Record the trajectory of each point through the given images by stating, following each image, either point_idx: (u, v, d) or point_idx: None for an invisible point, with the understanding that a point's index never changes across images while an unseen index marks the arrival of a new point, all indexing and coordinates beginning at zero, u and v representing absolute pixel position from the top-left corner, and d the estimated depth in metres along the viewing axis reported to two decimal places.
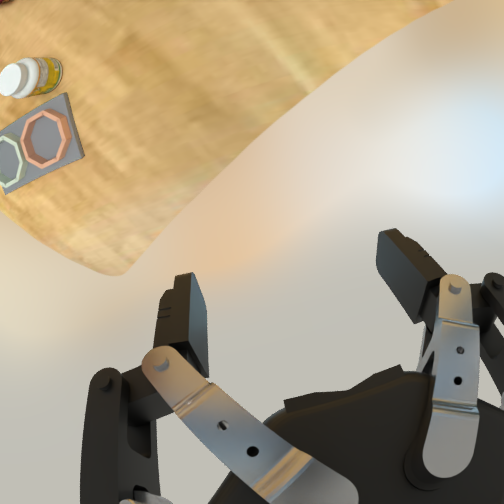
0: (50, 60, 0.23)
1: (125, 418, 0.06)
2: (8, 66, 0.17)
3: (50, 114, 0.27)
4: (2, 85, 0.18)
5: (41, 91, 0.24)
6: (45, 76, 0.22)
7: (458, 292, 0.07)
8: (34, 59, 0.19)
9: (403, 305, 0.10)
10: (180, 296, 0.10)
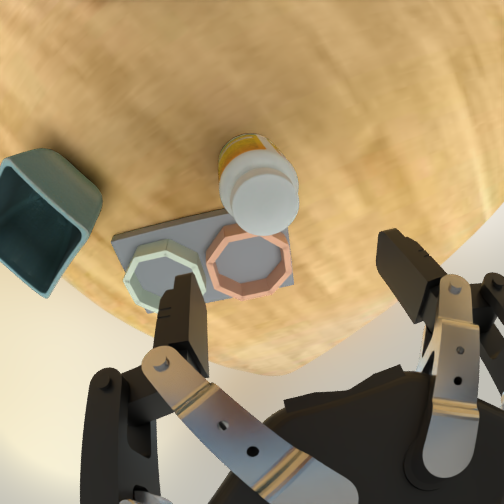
0: (278, 149, 0.21)
1: (125, 418, 0.06)
2: (266, 178, 0.16)
3: (273, 237, 0.25)
4: (245, 212, 0.17)
5: None
6: None
7: (458, 292, 0.07)
8: None
9: (403, 305, 0.10)
10: (180, 296, 0.10)
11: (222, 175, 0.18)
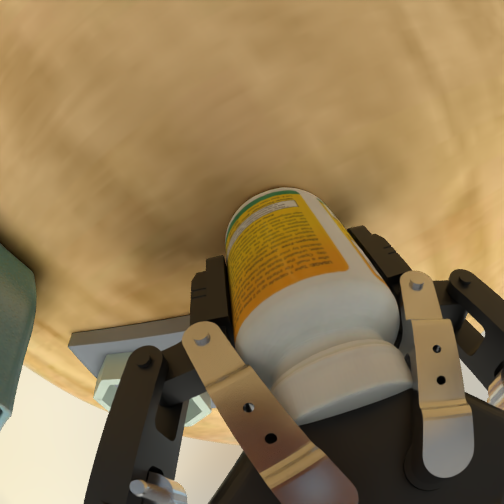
0: None
1: (157, 399, 0.07)
2: (369, 394, 0.05)
3: None
4: None
5: None
6: None
7: (418, 288, 0.08)
8: (386, 284, 0.08)
9: None
10: (214, 276, 0.10)
11: (243, 332, 0.08)
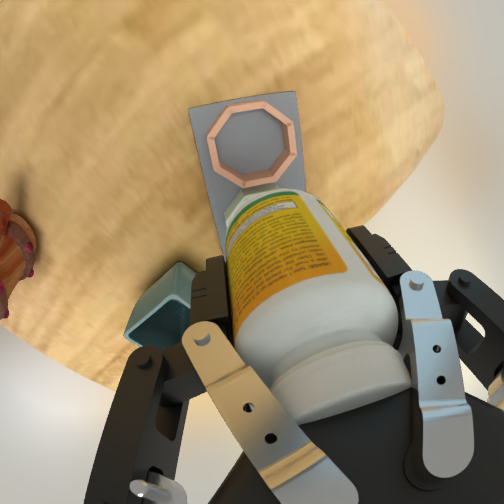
0: None
1: (157, 399, 0.07)
2: (367, 394, 0.05)
3: (217, 124, 0.23)
4: None
5: None
6: None
7: (418, 288, 0.08)
8: None
9: None
10: (214, 276, 0.10)
11: (243, 333, 0.08)
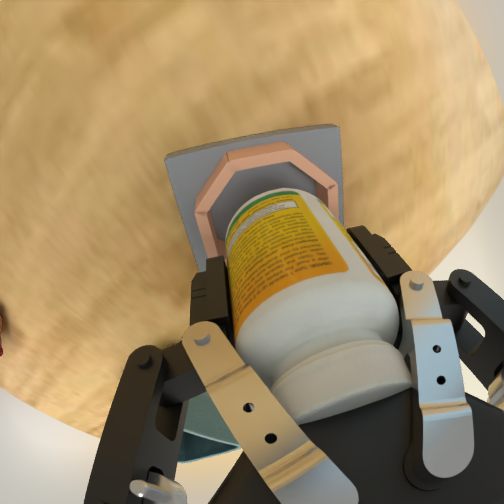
0: None
1: (158, 399, 0.07)
2: (368, 394, 0.05)
3: (210, 189, 0.14)
4: None
5: None
6: None
7: (418, 288, 0.08)
8: None
9: None
10: (214, 276, 0.10)
11: (244, 332, 0.08)
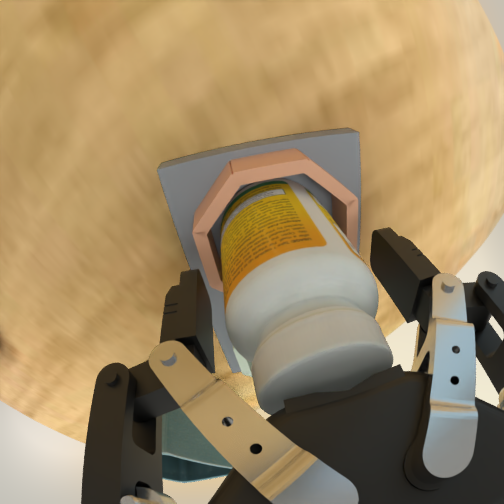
0: (329, 215, 0.12)
1: (131, 414, 0.06)
2: (342, 352, 0.06)
3: (211, 206, 0.12)
4: None
5: None
6: None
7: (451, 291, 0.07)
8: (363, 261, 0.09)
9: (396, 304, 0.10)
10: (186, 292, 0.10)
11: (232, 301, 0.09)
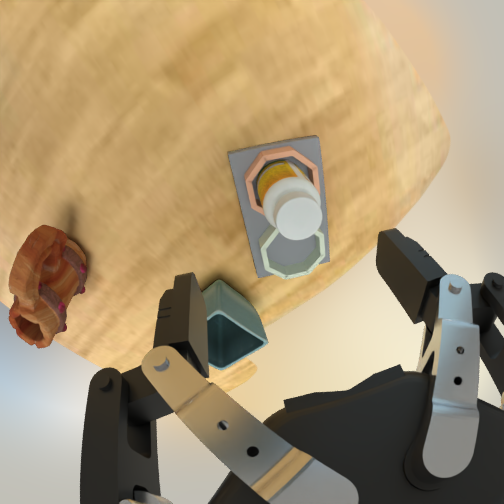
0: (303, 173, 0.28)
1: (125, 418, 0.06)
2: (300, 200, 0.22)
3: (254, 169, 0.28)
4: (285, 223, 0.23)
5: None
6: None
7: (458, 292, 0.07)
8: None
9: (403, 305, 0.10)
10: (180, 296, 0.10)
11: (266, 195, 0.25)
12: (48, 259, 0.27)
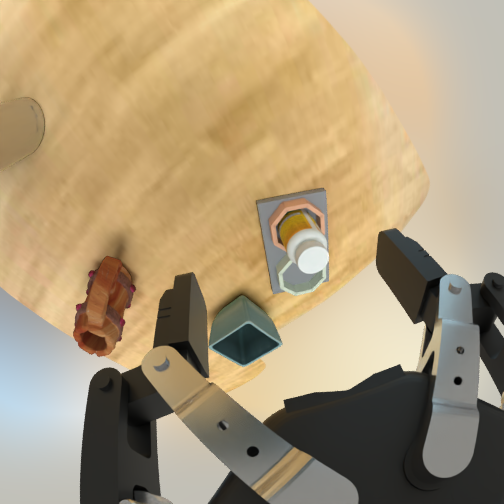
0: (314, 220, 0.39)
1: (125, 418, 0.06)
2: (315, 248, 0.33)
3: (277, 217, 0.39)
4: (304, 263, 0.34)
5: None
6: None
7: (458, 292, 0.07)
8: None
9: (403, 305, 0.10)
10: (180, 296, 0.10)
11: (289, 241, 0.35)
12: None
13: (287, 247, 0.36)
